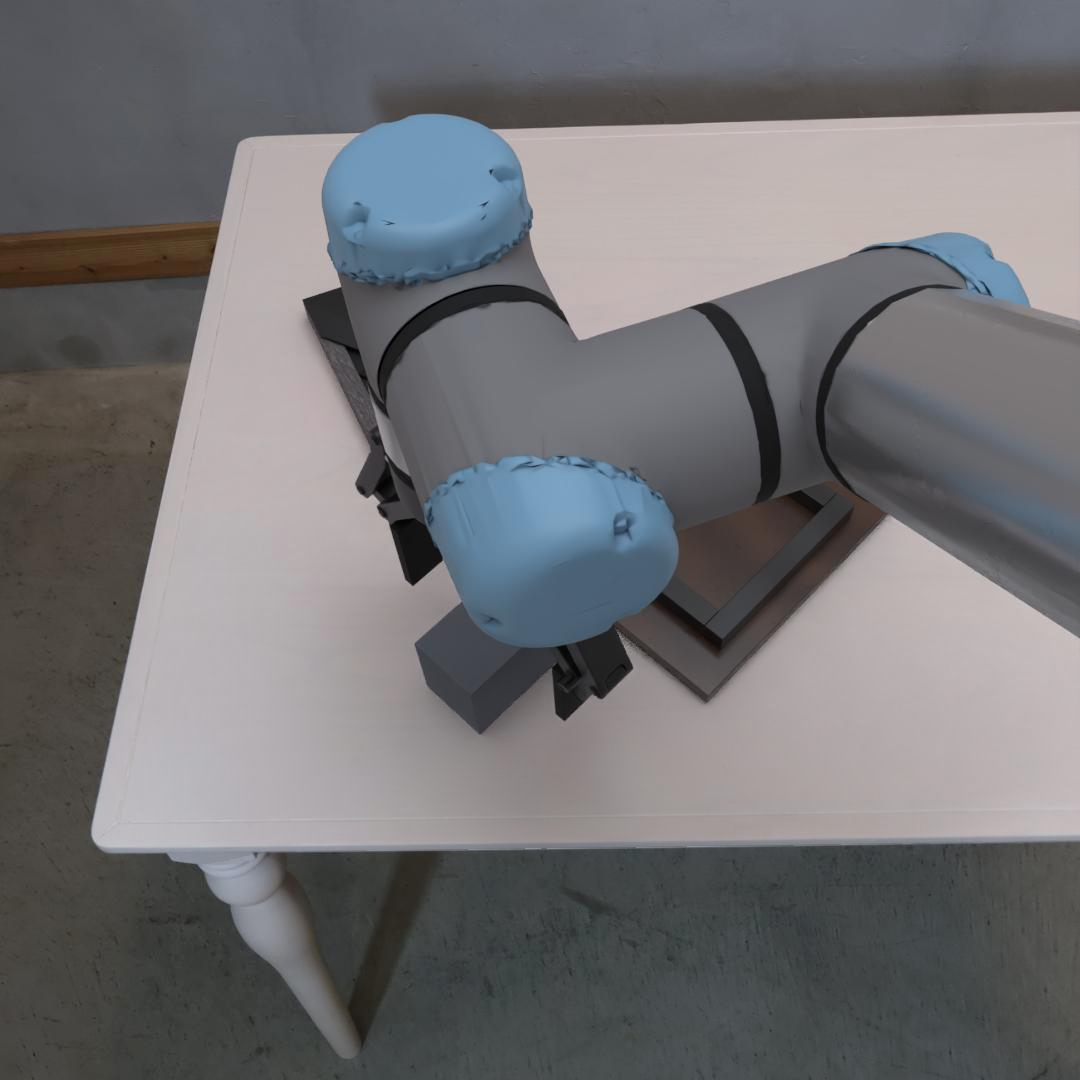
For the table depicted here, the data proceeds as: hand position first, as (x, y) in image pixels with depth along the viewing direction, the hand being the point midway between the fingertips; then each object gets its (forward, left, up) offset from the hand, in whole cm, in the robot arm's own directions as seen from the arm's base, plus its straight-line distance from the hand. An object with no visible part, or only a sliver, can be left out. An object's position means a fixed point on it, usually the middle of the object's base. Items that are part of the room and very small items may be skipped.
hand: (497, 634), depth 71 cm
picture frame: (+23, -14, -4) cm, 27 cm away
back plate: (-5, -17, -4) cm, 18 cm away
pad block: (0, 0, -4) cm, 4 cm away
